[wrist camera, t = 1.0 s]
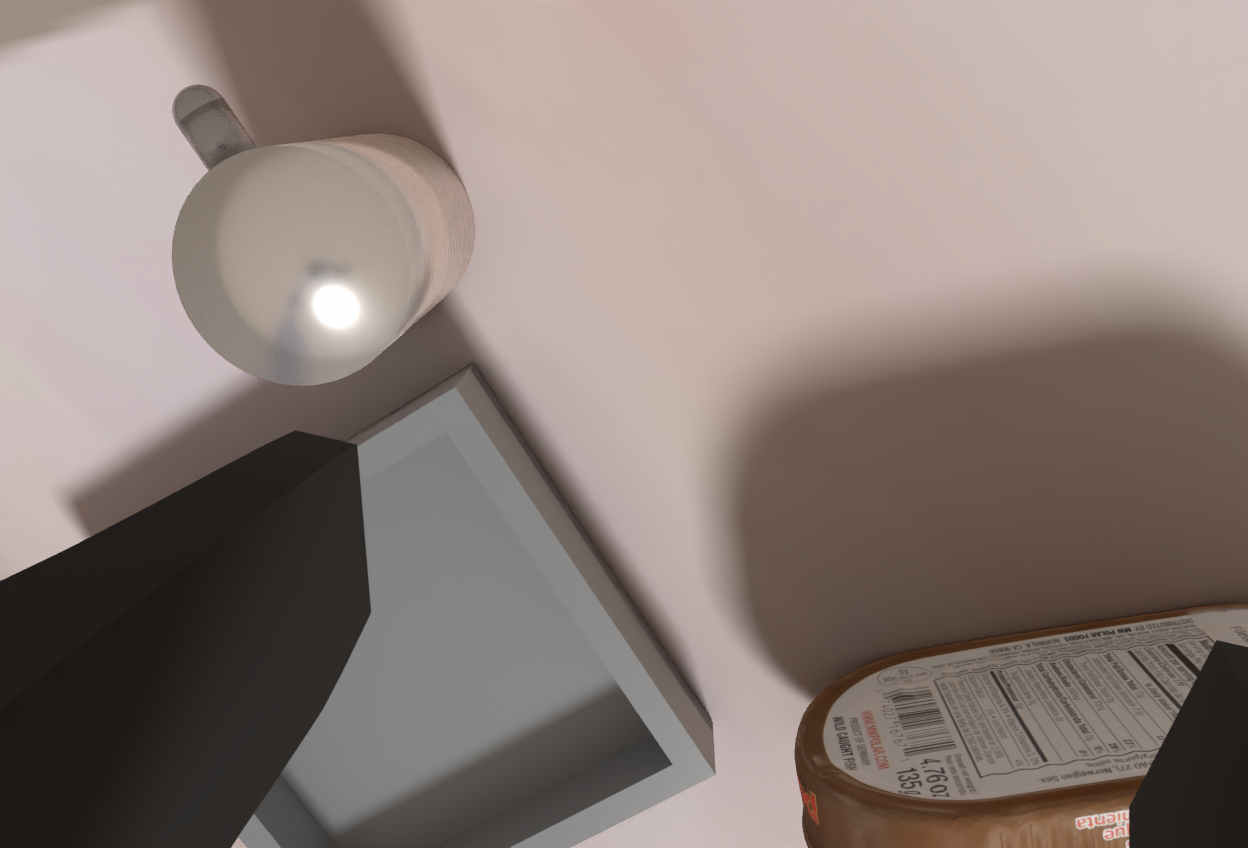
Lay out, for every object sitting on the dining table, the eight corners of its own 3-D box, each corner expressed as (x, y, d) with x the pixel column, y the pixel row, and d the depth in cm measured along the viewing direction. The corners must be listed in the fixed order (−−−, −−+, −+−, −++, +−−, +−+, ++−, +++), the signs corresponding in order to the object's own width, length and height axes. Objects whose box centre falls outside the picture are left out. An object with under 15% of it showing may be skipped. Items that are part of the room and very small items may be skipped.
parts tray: (364, 900, 33) (340, 962, 31) (113, 581, 31) (65, 623, 28) (712, 722, 31) (715, 774, 29) (473, 362, 28) (455, 387, 26)
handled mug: (363, 349, 28) (267, 427, 22) (220, 141, 27) (71, 156, 20) (509, 257, 28) (456, 309, 21) (369, 38, 26) (265, 18, 20)
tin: (789, 748, 31) (828, 976, 23) (771, 649, 30) (805, 849, 22) (1347, 664, 30) (1598, 877, 22) (1345, 557, 29) (1605, 736, 21)
